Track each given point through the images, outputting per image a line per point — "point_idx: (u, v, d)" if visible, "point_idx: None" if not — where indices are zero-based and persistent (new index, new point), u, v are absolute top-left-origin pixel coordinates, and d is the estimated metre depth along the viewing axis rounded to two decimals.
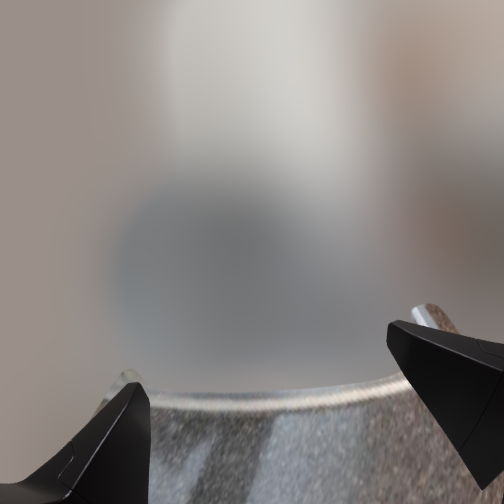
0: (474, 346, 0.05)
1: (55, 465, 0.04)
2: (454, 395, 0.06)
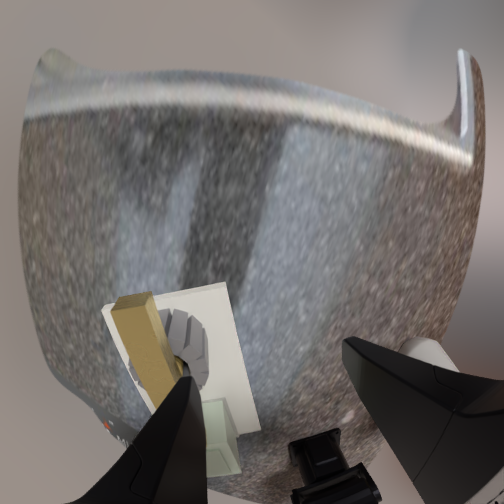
0: (428, 374, 0.05)
1: (120, 474, 0.04)
2: (404, 425, 0.05)
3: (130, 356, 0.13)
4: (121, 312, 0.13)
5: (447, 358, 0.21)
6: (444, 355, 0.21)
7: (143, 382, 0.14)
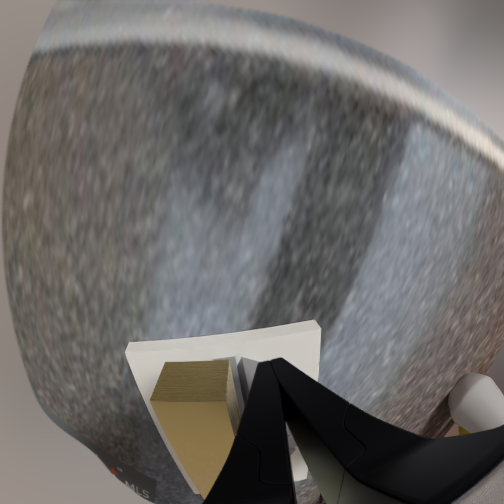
0: (337, 415, 0.05)
1: (240, 468, 0.04)
2: (315, 461, 0.05)
3: (181, 458, 0.07)
4: (173, 405, 0.06)
5: (502, 395, 0.15)
6: (500, 392, 0.15)
7: (196, 483, 0.07)
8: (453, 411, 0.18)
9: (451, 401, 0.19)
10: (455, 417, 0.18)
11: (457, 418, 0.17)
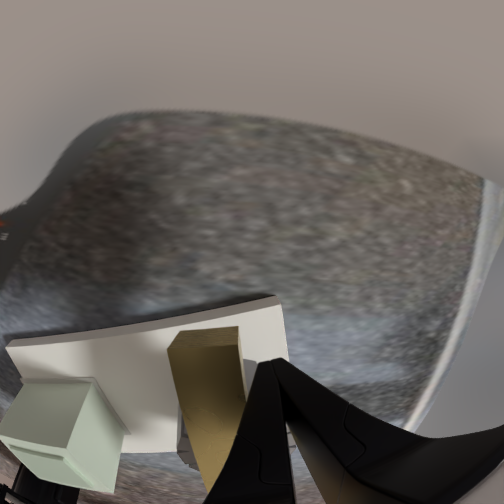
0: (337, 415, 0.05)
1: (240, 468, 0.04)
2: (315, 461, 0.05)
3: (189, 428, 0.07)
4: (188, 353, 0.07)
5: None
6: None
7: (201, 467, 0.07)
8: None
9: None
10: None
11: None
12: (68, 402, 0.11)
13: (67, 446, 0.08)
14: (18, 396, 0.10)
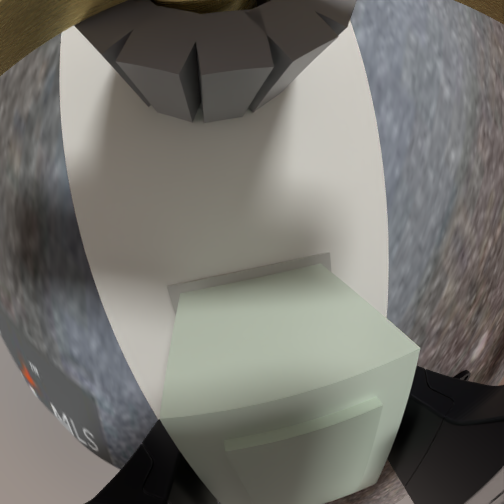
0: (419, 379, 0.05)
1: (132, 474, 0.04)
2: None
3: None
4: None
5: None
6: None
7: None
8: None
9: None
10: None
11: None
12: None
13: (162, 410, 0.04)
14: None
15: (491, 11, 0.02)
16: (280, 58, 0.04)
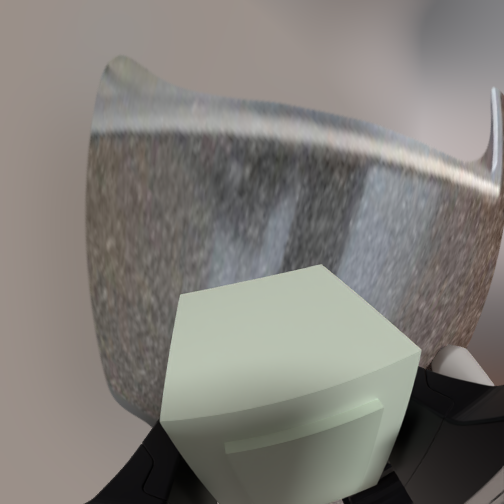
0: (419, 379, 0.05)
1: (132, 475, 0.04)
2: None
3: None
4: None
5: (476, 362, 0.22)
6: (473, 360, 0.23)
7: None
8: None
9: (433, 369, 0.27)
10: None
11: None
12: None
13: (161, 413, 0.04)
14: None
15: None
16: None
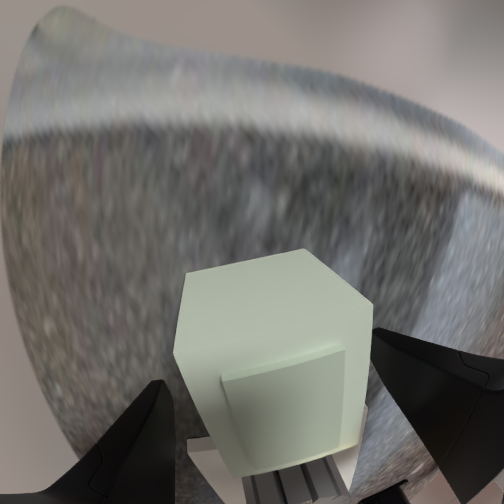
0: (455, 359, 0.05)
1: (83, 470, 0.04)
2: (433, 409, 0.05)
3: None
4: None
5: None
6: None
7: None
8: None
9: None
10: None
11: None
12: None
13: (175, 348, 0.06)
14: None
15: None
16: None
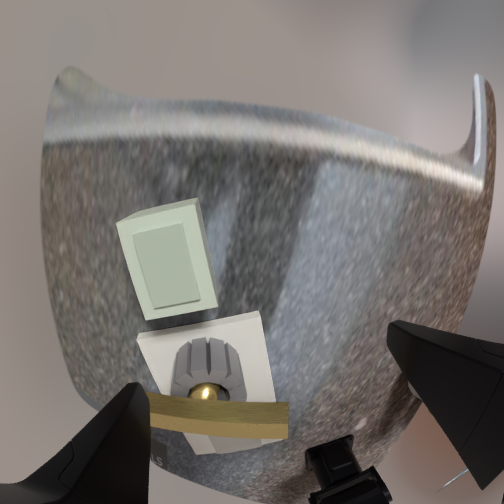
0: (474, 346, 0.05)
1: (55, 465, 0.04)
2: (454, 395, 0.06)
3: (156, 426, 0.16)
4: None
5: None
6: None
7: (181, 431, 0.16)
8: (409, 384, 0.25)
9: None
10: (411, 389, 0.25)
11: (413, 390, 0.25)
12: None
13: (117, 222, 0.14)
14: None
15: None
16: None
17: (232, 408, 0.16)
